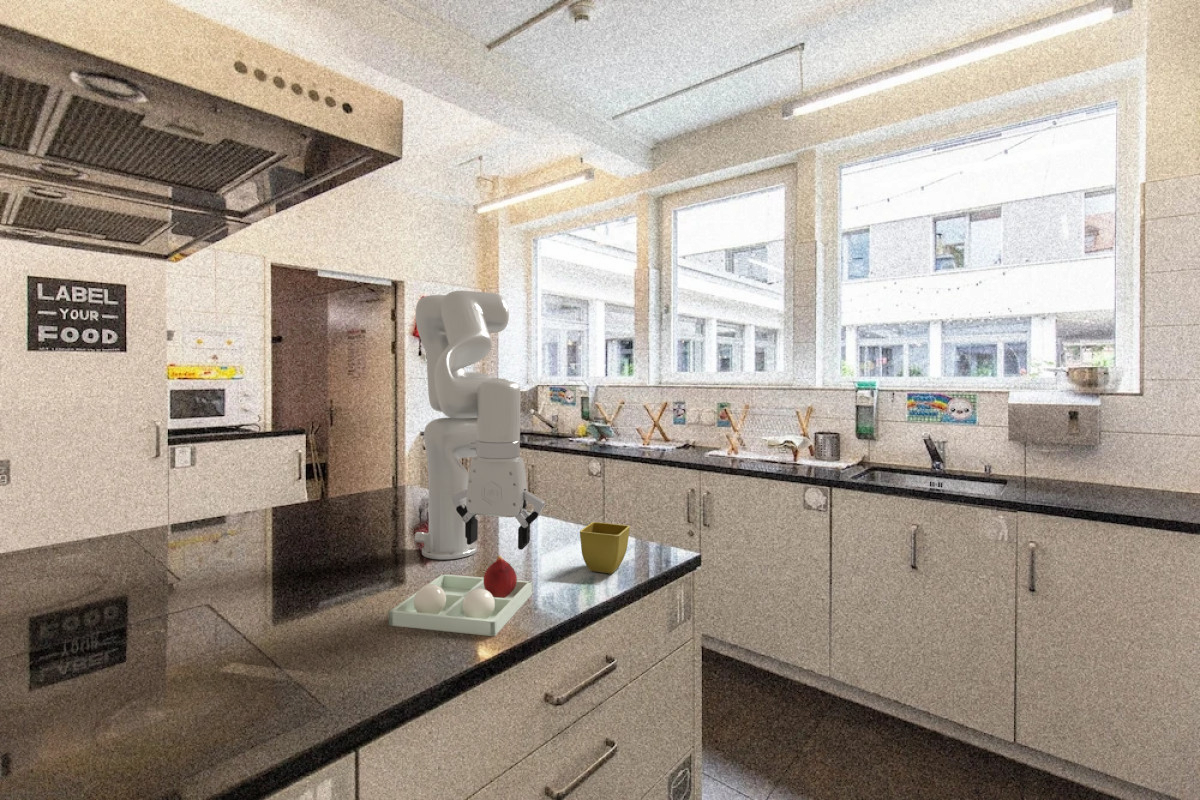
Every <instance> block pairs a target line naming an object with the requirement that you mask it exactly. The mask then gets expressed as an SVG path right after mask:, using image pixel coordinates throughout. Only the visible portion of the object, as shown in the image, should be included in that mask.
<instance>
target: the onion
mask: <svg viewBox="0 0 1200 800" xmlns="http://www.w3.org/2000/svg"><path fill="white" fill-rule="evenodd" d="M517 577H518V576H517V574H516V570H515V569H514V568H513V566H512V565H511V564H510V563H509V562H507V561H506V560H505V559H504V558H503V557H502V556H501V555H497V556H496V560H495V561H494V562H493V563H492V564H490V566H489V567H488V568H486V571H485V572H484V575H483V578H484V587H485V589H486V590H488V591H489V592H490V593H491V594H492V595H493V597H498V598H505V597H507V596H508V595H509V594H510V593H511V592H512V591H513V590H514V588H515V586H516V582H517Z"/></svg>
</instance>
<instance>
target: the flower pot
mask: <svg viewBox="0 0 1200 800" xmlns="http://www.w3.org/2000/svg"><path fill="white" fill-rule="evenodd" d="M630 530H631V526H630V525H626V524H618V523H609V522H607V523H606V522H598V521H597V522H596V521H593V522H590V524H588V525H586V526H585V527H584V528H582V529H581V530H580V531H579V537H580V548H581V555H582V558H583V560H584V563H585V565H586V566H587V568H588V570H589V571H590V572H596V573H603V574H610V575H611V574H614V573H615V572H616V571H617V569H619V567H620V566H621V564H622V562H623V561H624V557H625V556H626V553H627V550H628V545H629V537H630V536H629V535H630Z"/></svg>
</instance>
